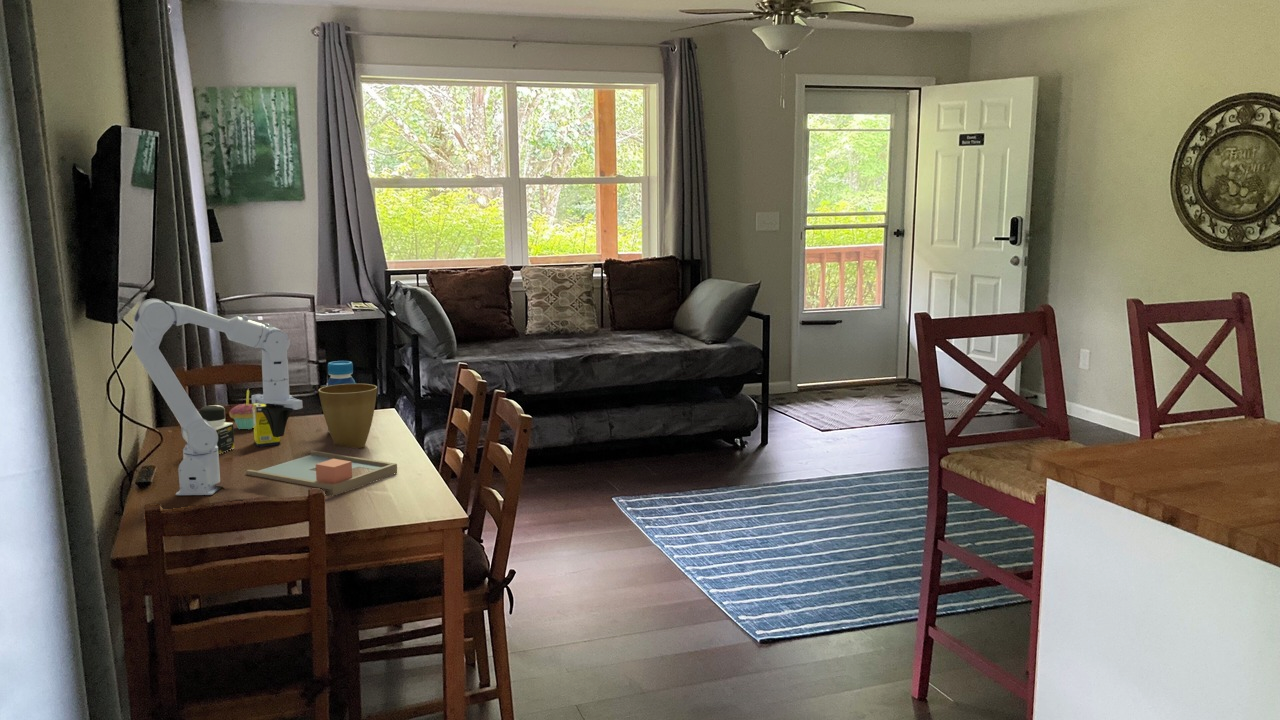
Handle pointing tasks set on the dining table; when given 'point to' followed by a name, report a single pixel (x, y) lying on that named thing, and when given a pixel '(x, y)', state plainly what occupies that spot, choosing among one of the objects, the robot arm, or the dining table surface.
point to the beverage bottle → (340, 373)
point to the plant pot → (348, 412)
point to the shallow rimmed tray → (303, 475)
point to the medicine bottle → (219, 426)
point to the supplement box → (262, 428)
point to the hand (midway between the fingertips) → (278, 436)
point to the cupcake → (243, 414)
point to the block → (333, 471)
